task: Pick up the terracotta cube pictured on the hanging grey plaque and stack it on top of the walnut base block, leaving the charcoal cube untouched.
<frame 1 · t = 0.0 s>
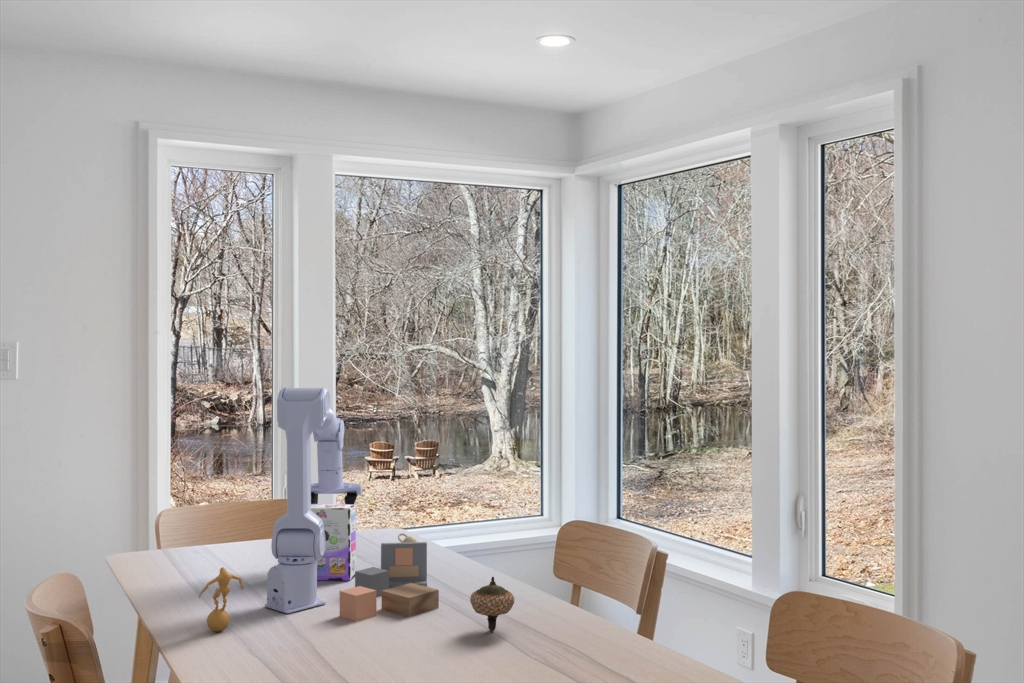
hand: (332, 522, 212), 11 cm above the table, tool pointing down, fingers open, 7 cm apart
figurine: (220, 633, 163), on the table
acorn: (492, 632, 164), on the table
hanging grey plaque: (403, 584, 197), on the table
terracotta cube: (358, 616, 173), on the table
walnut base block: (410, 610, 178), on the table
charcoal cube: (371, 594, 189), on the table
candy box: (323, 578, 203), on the table
decorative ornament: (411, 557, 223), on the table
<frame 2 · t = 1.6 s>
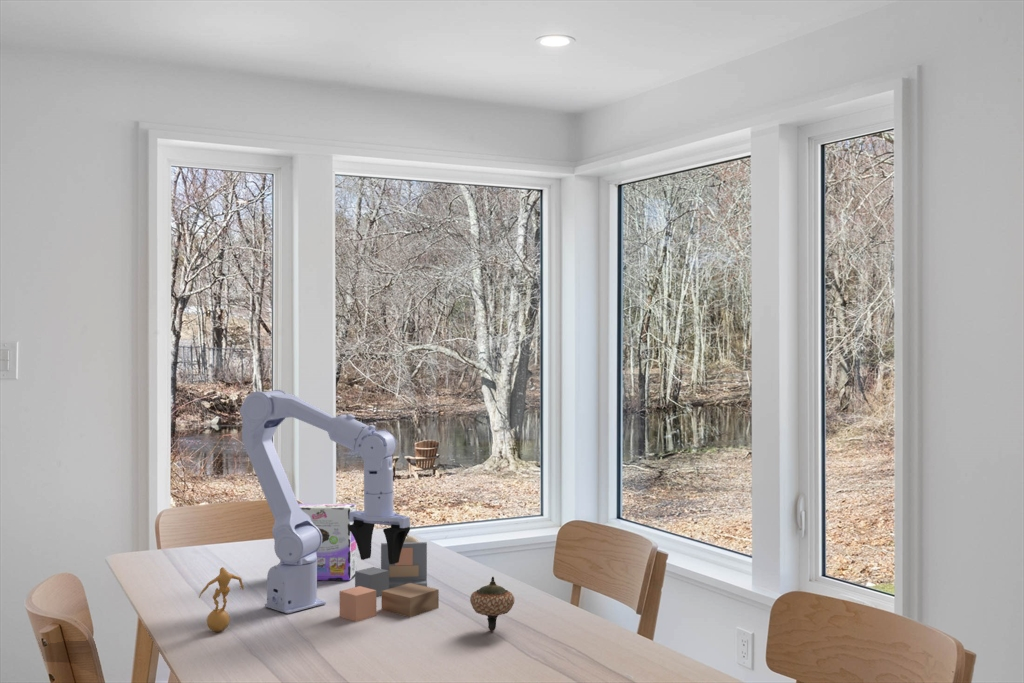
hand: (379, 560, 177), 10 cm above the table, tool pointing down, fingers open, 7 cm apart
nothing on the table moved.
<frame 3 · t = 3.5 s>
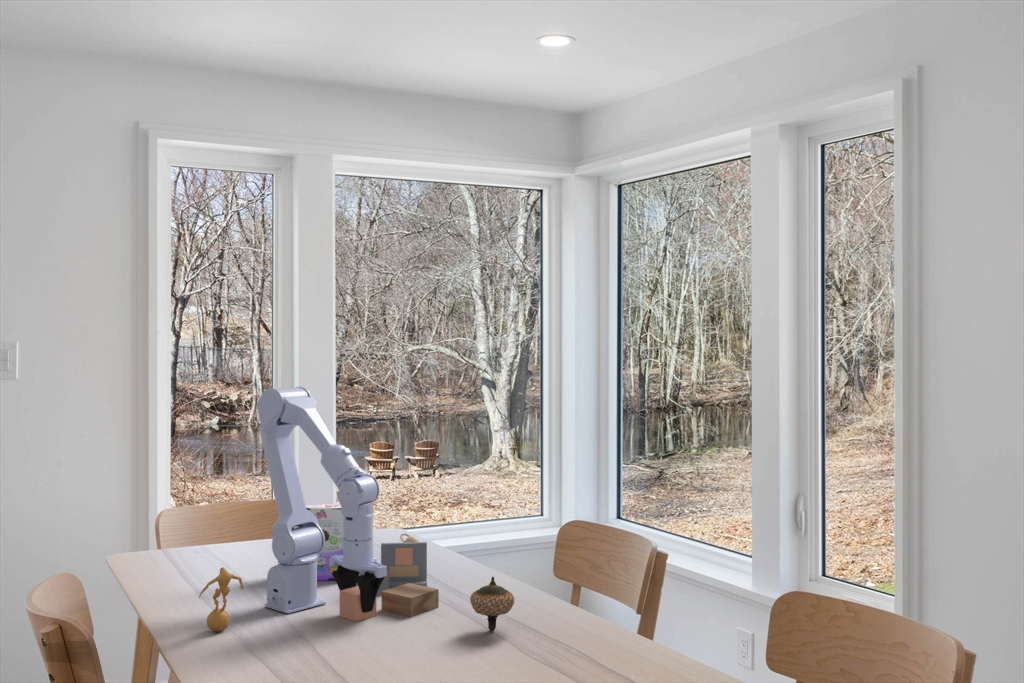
hand: (358, 608, 173), 1 cm above the table, tool pointing down, fingers closed on terracotta cube, 5 cm apart
terracotta cube: (358, 616, 173), on the table, touching gripper
everything else where it was.
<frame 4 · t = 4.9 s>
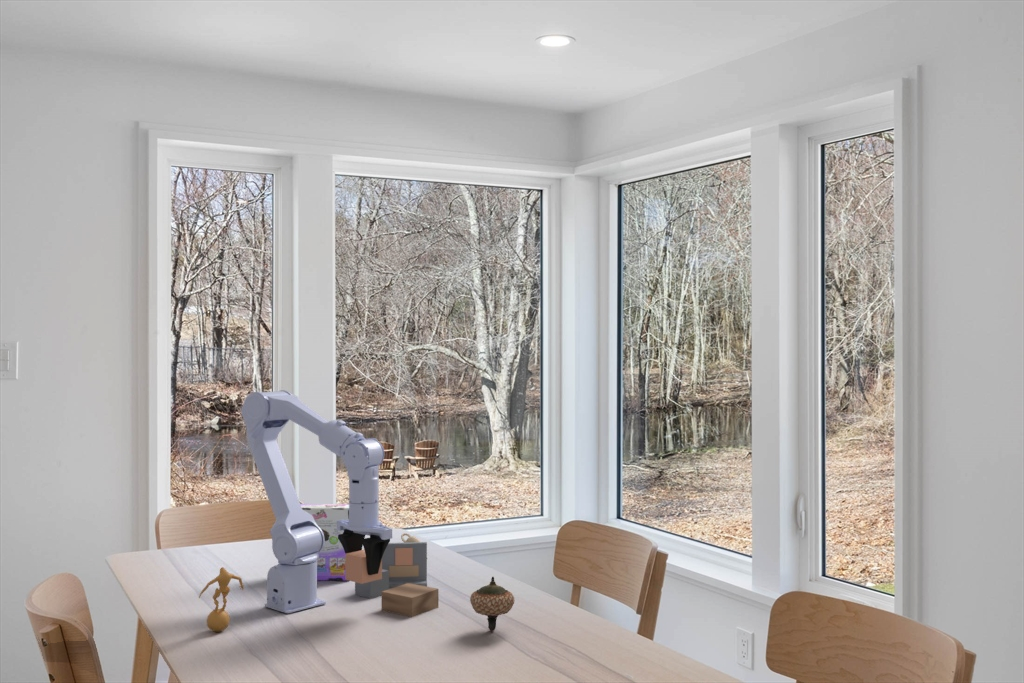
hand: (363, 571, 174), 8 cm above the table, tool pointing down, fingers closed on terracotta cube, 5 cm apart
terracotta cube: (363, 579, 174), point 7 cm above the table, touching gripper
everything else where it was.
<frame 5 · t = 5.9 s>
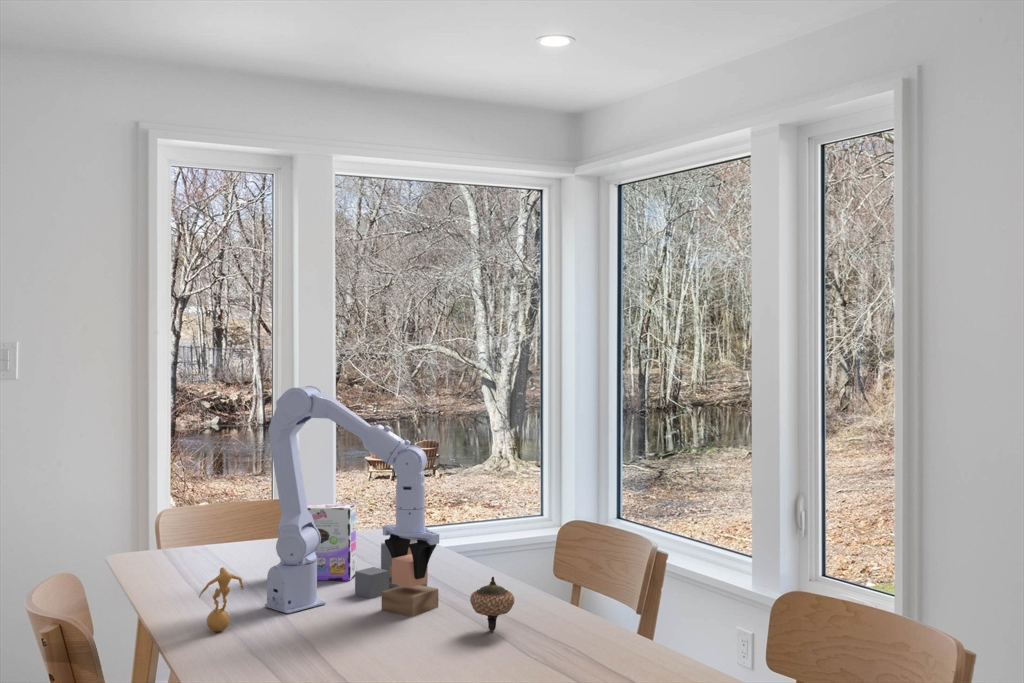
hand: (410, 575, 178), 7 cm above the table, tool pointing down, fingers closed on terracotta cube, 5 cm apart
terracotta cube: (409, 583, 178), point 5 cm above the table, touching gripper
everything else where it was.
when the fingers open (6 cm above the table, at t = 6.4 s): terracotta cube drops 1 cm, resting on walnut base block.
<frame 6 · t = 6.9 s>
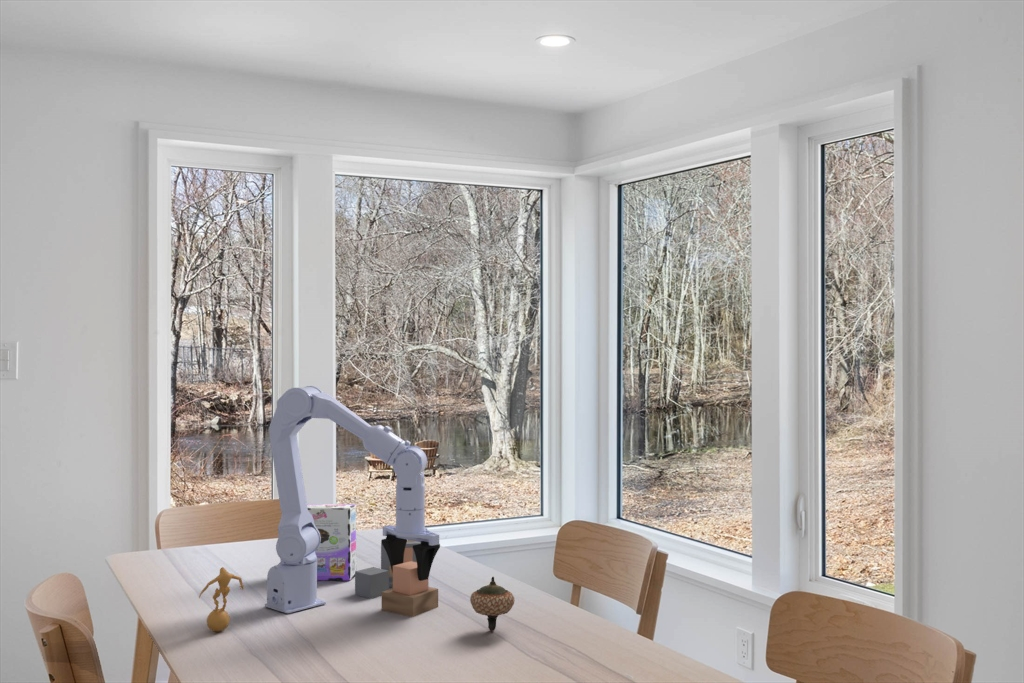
hand: (410, 576, 178), 6 cm above the table, tool pointing down, fingers open, 7 cm apart
terracotta cube: (410, 590, 178), point 4 cm above the table, touching walnut base block
walnut base block: (410, 610, 178), on the table, touching terracotta cube
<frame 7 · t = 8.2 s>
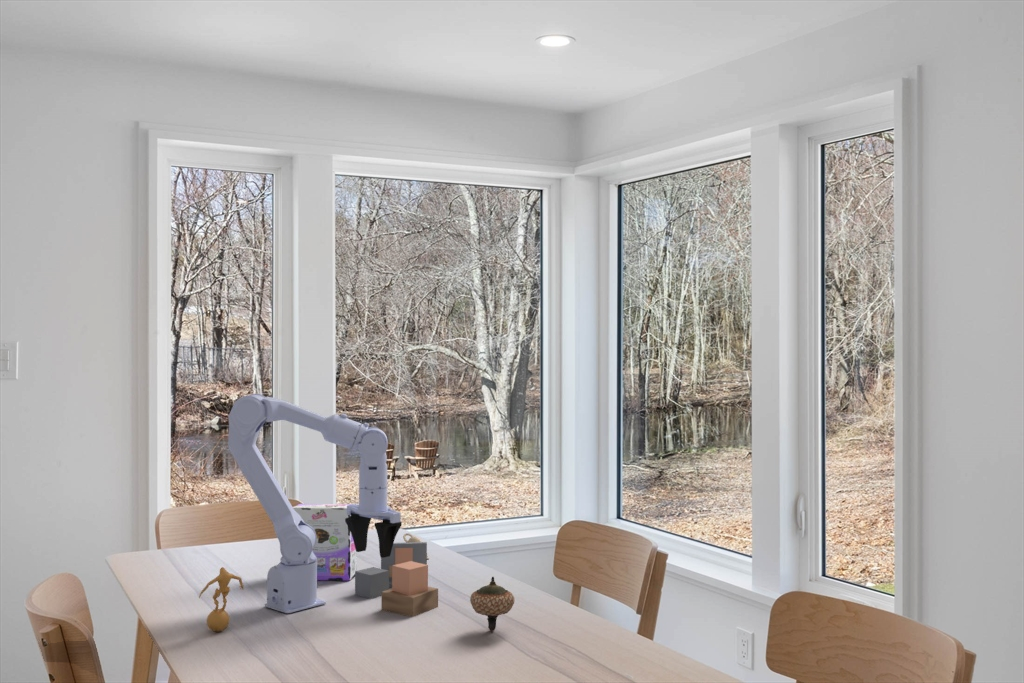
hand: (373, 553, 183), 10 cm above the table, tool pointing down, fingers open, 7 cm apart
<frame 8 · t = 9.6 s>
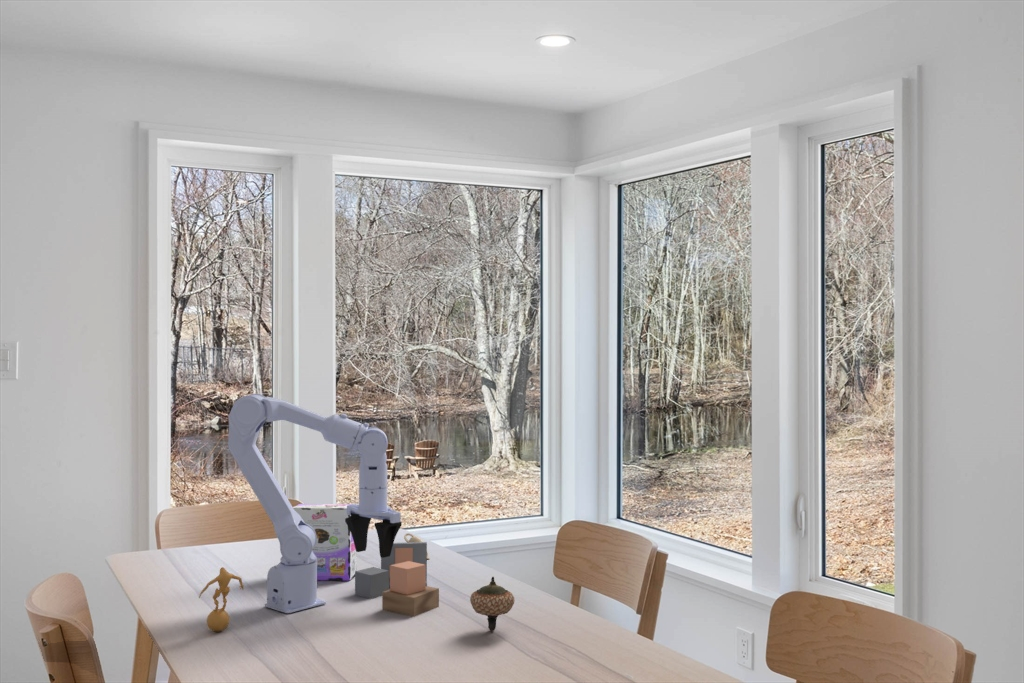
hand: (373, 553, 183), 10 cm above the table, tool pointing down, fingers open, 7 cm apart
at the end: terracotta cube 0.7 cm off-centre on the walnut base block, point 4.0 cm above the walnut base block's base; terracotta cube tilted 1°; charcoal cube moved 0.1 cm from its start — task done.
